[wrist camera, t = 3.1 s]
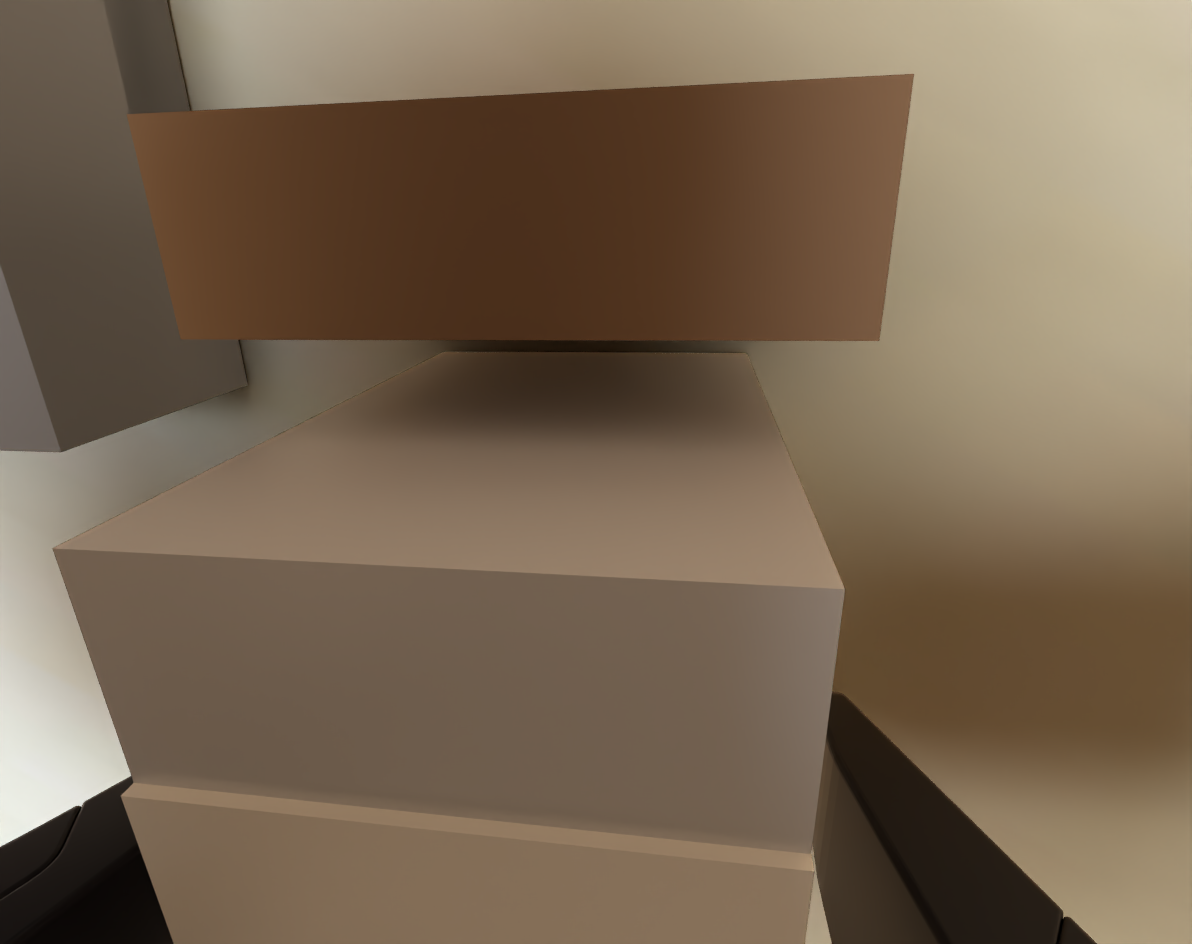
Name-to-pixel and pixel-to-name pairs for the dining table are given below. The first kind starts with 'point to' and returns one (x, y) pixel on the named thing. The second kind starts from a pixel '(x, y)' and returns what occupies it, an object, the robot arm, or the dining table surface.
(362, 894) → the block
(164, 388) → the parts tray
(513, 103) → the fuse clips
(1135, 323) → the dining table surface
